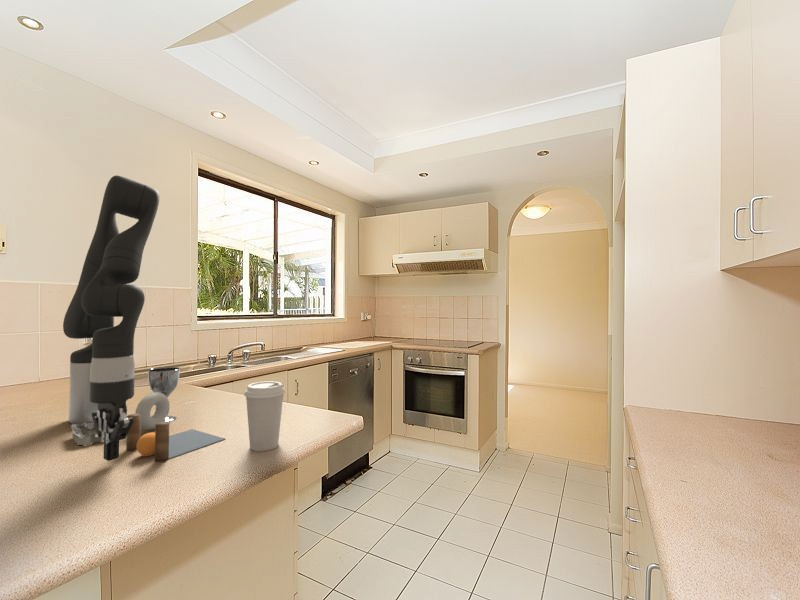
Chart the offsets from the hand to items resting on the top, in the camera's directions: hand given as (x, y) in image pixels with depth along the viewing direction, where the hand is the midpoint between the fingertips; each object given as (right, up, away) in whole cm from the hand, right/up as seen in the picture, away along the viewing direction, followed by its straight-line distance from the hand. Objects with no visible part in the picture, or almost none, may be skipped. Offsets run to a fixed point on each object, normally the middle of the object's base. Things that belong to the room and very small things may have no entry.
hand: (111, 458), depth 79 cm
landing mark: (+7, -2, +13) cm, 15 cm away
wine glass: (-9, -2, +31) cm, 33 cm away
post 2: (+9, -2, +3) cm, 9 cm away
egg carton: (-17, -2, +15) cm, 23 cm away
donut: (-7, -2, +23) cm, 24 cm away
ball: (+4, +1, +6) cm, 7 cm away
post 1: (-2, -2, +9) cm, 9 cm away
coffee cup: (+28, -2, +12) cm, 31 cm away
